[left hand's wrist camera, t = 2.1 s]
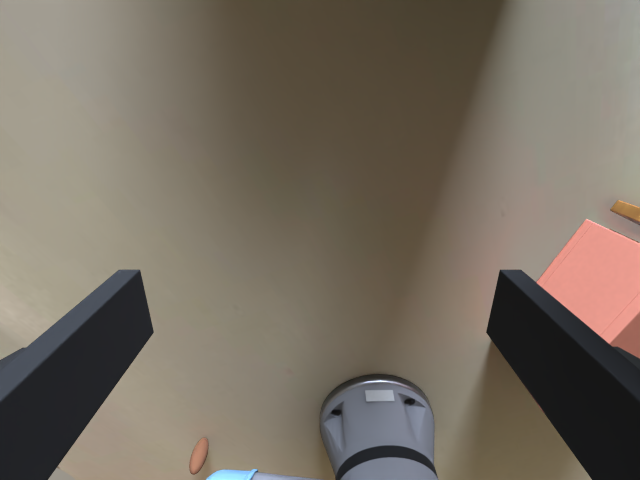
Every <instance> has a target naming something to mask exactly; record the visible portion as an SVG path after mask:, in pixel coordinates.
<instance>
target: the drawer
mask: <svg viewBox="0 0 640 480" xmlns="http://www.w3.org/2000/svg"><path fill="white" fill-rule="evenodd" d="M610 210H611V211H612V212H614V213H616V214H618V215H620V216H622V217H624V218H626V219H628V220H630V221H632V222H634V223H636V224H638V225H640V207H637V206H634V205H631V204H628V203H625V202H623V201H620V200H618V201H617V202H616V203H615V204H614V206H613V207H612V208H611V209H610ZM609 230H611V229H609ZM611 231H613V230H611ZM613 232H616V231H613ZM616 233H618V232H616ZM618 234H620V233H618ZM620 235H622V234H620ZM622 236H624V235H622ZM624 237H626V236H624ZM626 238H629V237H626ZM629 239H631V238H629ZM631 240H633V239H631ZM633 241H635V240H633ZM635 242H637V241H635ZM637 243H639V242H637ZM639 244H640V243H639Z"/></svg>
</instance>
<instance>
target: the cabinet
mask: <svg viewBox="0 0 640 480" xmlns="http://www.w3.org/2000/svg"><path fill="white" fill-rule="evenodd" d="M536 283H537V284H538V285H540V286H541V287H542V288H543V289H544V290H546V291H547V292H548V293H549V294H550V295H552V296H553V297H554V298H555V299H556V300H558V301H559V302H560V303H561V304H562V305H563V306H565V307H566V308H567V309H568V310H569V311H571V312H572V313H573V314H574V315H575V316H577V317H578V318H579V319H580V320H581V321H583V322H584V323H585V324H586V325H587V326H588V327H590V328H591V329H592V330H593V331H594V332H596V333H597V334H598V335H599V336H600V337H602V338H603V339H604V340H605V341H606V342H608V343H609V344H610V345H611V346H612V347H619V348H621V349H623V350H625V351H627V352H629V353H630V354H632V355H634V356H636V357H638V358H639V359H640V244H639V243H637V242H635V241H633V240H631V239H629V238H626V237H624V236H622V235H620V234H618V233H616V232H613V231H611V230H609V229H607V228H605V227H603V226H600V225H598V224H596V223H594V222H592V221H590V220H588V219H586V220H585V221H584V223H583V224H582V225H581V226H580V228H579V229H578V230H577V232H576V233H575V234H574V235H573V237H572V238H571V239H570V240H569V242H568V243H567V244H566V245H565V247H564V248H563V249H562V251H561V252H560V253H559V254H558V256H557V257H556V258H555V259H554V261H553V262H552V263H551V265H550V266H549V267H548V268H547V270H546V271H545V272H544V273H543V275H542V276H541V277H540V279H539V280H538V281H537V282H536ZM519 379H520V378H519ZM524 386H525V385H524ZM526 389H527V388H526ZM529 393H530V392H529ZM531 396H532V395H531ZM533 399H534V398H533ZM534 400H535V399H534ZM536 403H537V402H536ZM538 406H539V405H538ZM539 407H540V406H539ZM540 409H541V408H540ZM541 410H542V409H541ZM542 411H543V410H542ZM543 413H544V412H543Z"/></svg>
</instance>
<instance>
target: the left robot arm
mask: <svg viewBox="0 0 640 480" xmlns="http://www.w3.org/2000/svg"><path fill="white" fill-rule="evenodd" d="M153 333H154V332H153V327H152V322H151V318H150V313H149V309H148V304H147V299H146V295H145V290H144V286H143V281H142V277H141V272H140V270H118V271H117V272H116V273H115V274H113V275H112V276H111V277H110V278H109V279H107V280H106V281H105V282H104V283H103V284H102V285H100V286H99V287H98V288H97V289H96V290H94V291H93V292H92V293H91V294H90V295H88V296H87V297H86V298H85V299H84V300H82V301H81V302H80V303H79V304H78V305H77V306H75V307H74V308H73V309H72V310H71V311H69V312H68V313H67V314H66V315H65V316H63V317H62V318H61V319H60V320H59V321H57V322H56V323H55V324H54V325H53V326H52V327H50V328H49V329H48V330H47V331H46V332H44V333H43V334H42V335H41V336H40V337H38V338H37V339H36V340H35V341H34V342H32V343H31V344H30V345H29V346H28V347H27V348H21V349H20V350H18V351H16V352H14V353H12V354H10V355H9V356H7V357H5V358H3V359H1V360H0V480H48V479H49V477H50V476H51V474H52V473H53V472H54V470H55V469H56V468H57V466H58V465H59V463H60V462H61V461H62V459H63V458H64V456H65V455H66V454H67V452H68V451H69V449H70V448H71V447H72V445H73V444H74V442H75V441H76V440H77V438H78V437H79V436H80V434H81V433H82V431H83V430H84V429H85V427H86V426H87V424H88V423H89V422H90V420H91V419H92V417H93V416H94V415H95V413H96V412H97V410H98V409H99V408H100V406H101V405H102V404H103V402H104V401H105V399H106V398H107V397H108V395H109V394H110V392H111V391H112V390H113V388H114V387H115V385H116V384H117V383H118V381H119V380H120V378H121V377H122V376H123V374H124V373H125V372H126V370H127V369H128V367H129V366H130V365H131V363H132V362H133V360H134V359H135V358H136V356H137V355H138V353H139V352H140V351H141V349H142V348H143V347H144V345H145V344H146V342H147V341H148V340H149V338H150V337H151V335H152V334H153ZM486 333H487V334H488V335H489V337H490V338H491V340H492V341H493V342H494V344H495V345H496V347H497V348H498V349H499V351H500V352H501V353H502V355H503V356H504V358H505V359H506V360H507V362H508V363H509V365H510V366H511V367H512V369H513V370H514V372H515V373H516V374H517V376H518V377H519V378H520V380H521V381H522V383H523V384H524V385H525V387H526V388H527V390H528V391H529V392H530V394H531V395H532V397H533V398H534V399H535V401H536V402H537V404H538V405H539V406H540V408H541V409H542V410H543V412H544V413H545V415H546V416H547V417H548V419H549V420H550V422H551V423H552V424H553V426H554V427H555V429H556V430H557V431H558V433H559V434H560V436H561V437H562V438H563V440H564V441H565V442H566V444H567V445H568V447H569V448H570V449H571V451H572V452H573V454H574V455H575V456H576V458H577V459H578V461H579V462H580V463H581V465H582V466H583V468H584V469H585V470H586V472H587V473H588V474H589V476H590V477H591V479H592V480H640V359H639V358H638V357H636V356H634V355H632V354H630V353H629V352H627V351H625V350H623V349H621V348H619V347H612V346H611V345H610V344H609V343H608V342H606V341H605V340H604V339H603V338H602V337H600V336H599V335H598V334H597V333H596V332H594V331H593V330H592V329H591V328H590V327H588V326H587V325H586V324H585V323H584V322H583V321H581V320H580V319H579V318H578V317H577V316H575V315H574V314H573V313H572V312H571V311H569V310H568V309H567V308H566V307H565V306H563V305H562V304H561V303H560V302H559V301H558V300H556V299H555V298H554V297H553V296H552V295H550V294H549V293H548V292H547V291H546V290H544V289H543V288H542V287H541V286H540V285H538V284H537V283H536V282H535V281H534V280H533V279H531V278H530V277H529V276H528V275H527V274H525V273H524V272H523V271H522V270H500V272H499V277H498V281H497V286H496V290H495V295H494V299H493V304H492V309H491V313H490V318H489V322H488V327H487V332H486ZM320 432H321V436H322V440H323V443H324V446H325V448H326V451H327V454H328V457H329V460H330V462H331V465H332V468H333V471H334V473H335V478H336V480H438V477H437V474H436V470H435V467H434V417H433V413H432V410H431V407H430V404H429V401H428V399H427V397H426V396H425V394H424V393H423V392H422V391H421V390H420V389H419V388H418V387H417V386H416V385H414V384H413V383H411V382H409V381H407V380H405V379H402V378H399V377H395V376H390V375H367V376H362V377H358V378H355V379H352V380H349V381H347V382H345V383H343V384H341V385H340V386H338V387H337V388H336V389H334V390H333V391H332V392H331V393H330V394H329V395H328V397H327V398H326V399H325V401H324V403H323V405H322V408H321V412H320ZM206 480H322V479H313V478H303V477H294V476H285V475H276V474H268V473H260V472H258V469H253V470H251V471H242V470H219V471H216V472H215V473H213V474H212V475H210V476H209V477H208V478H207V479H206Z"/></svg>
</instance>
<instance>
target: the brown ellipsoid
mask: <svg viewBox="0 0 640 480" xmlns="http://www.w3.org/2000/svg"><path fill="white" fill-rule="evenodd" d="M207 453H208V440H207V439H206V438H202V439H201V440H200V441H199V442H198V443H197V444H196V446H195V448H194V450H193V452H192V455H191V459H190V465H189V468H190V472H191V474H193V475H194V474H196V473H198V472H199V471H200V469H201V468H202V466H203V464H204V462H205V460H206V457H207Z"/></svg>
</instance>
